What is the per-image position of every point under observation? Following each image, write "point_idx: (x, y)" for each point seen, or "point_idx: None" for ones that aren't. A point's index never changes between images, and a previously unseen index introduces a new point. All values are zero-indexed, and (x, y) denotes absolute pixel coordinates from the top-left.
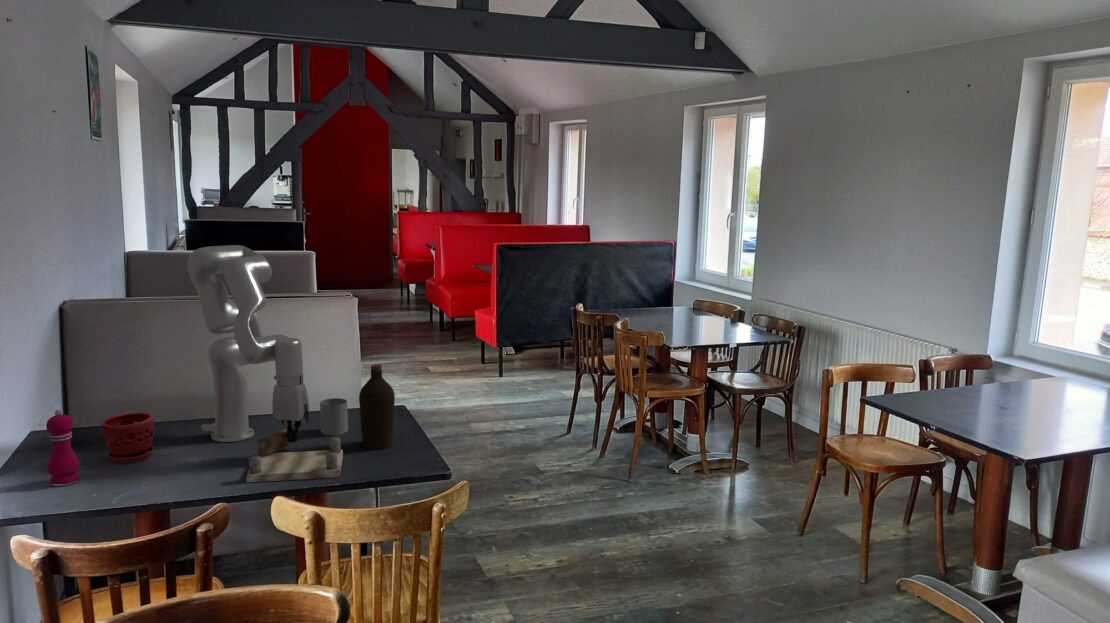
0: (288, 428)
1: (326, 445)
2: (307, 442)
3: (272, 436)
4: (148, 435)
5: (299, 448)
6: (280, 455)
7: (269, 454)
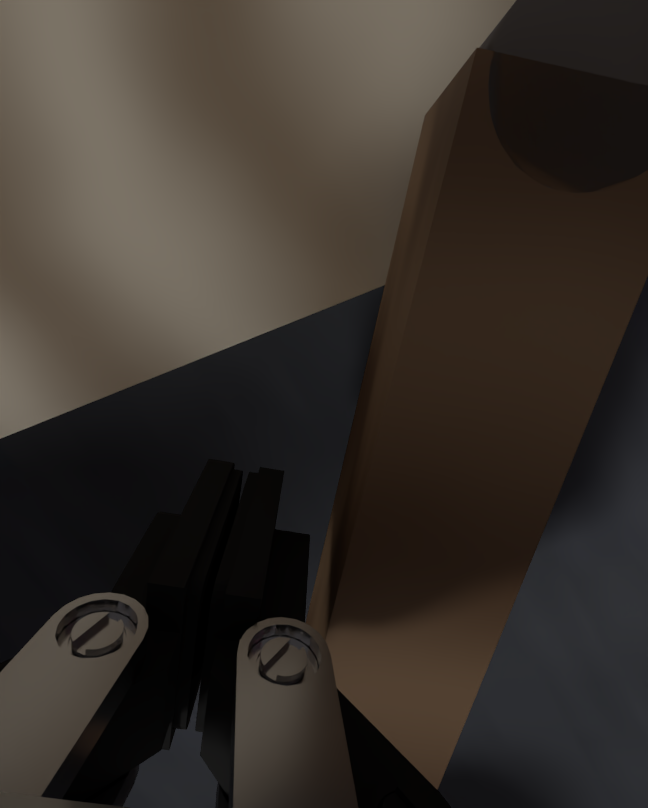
0: (261, 646)
1: None
2: None
3: (487, 385)
4: None
5: (309, 594)
6: (270, 211)
7: None
